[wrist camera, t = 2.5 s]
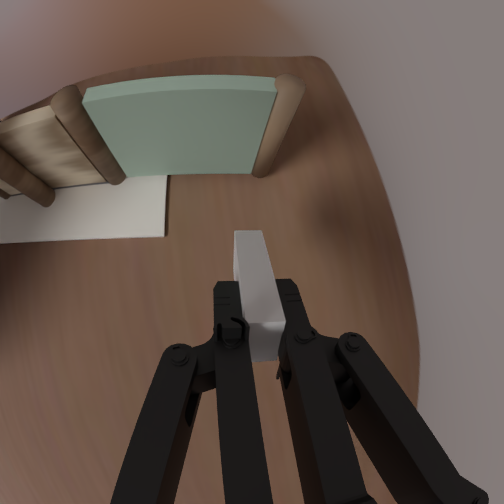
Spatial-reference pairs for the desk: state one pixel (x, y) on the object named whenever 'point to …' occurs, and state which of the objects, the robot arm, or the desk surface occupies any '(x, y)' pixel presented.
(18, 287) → the desk surface
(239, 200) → the desk surface
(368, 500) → the robot arm
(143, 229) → the card
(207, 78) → the fence gate
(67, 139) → the fence fixed
